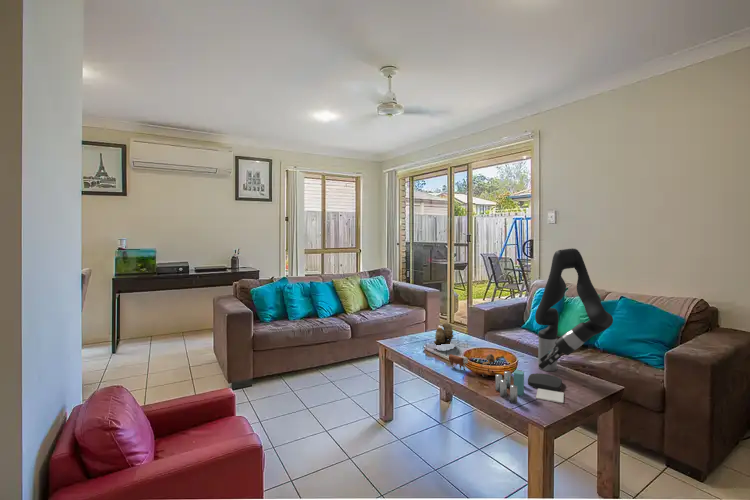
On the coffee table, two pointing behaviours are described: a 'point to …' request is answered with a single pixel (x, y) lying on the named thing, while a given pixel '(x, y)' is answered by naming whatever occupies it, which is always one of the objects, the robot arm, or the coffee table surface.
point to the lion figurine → (489, 360)
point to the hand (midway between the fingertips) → (540, 364)
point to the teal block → (519, 381)
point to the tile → (550, 395)
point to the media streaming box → (545, 382)
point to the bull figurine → (458, 360)
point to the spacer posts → (503, 384)
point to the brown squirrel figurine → (444, 334)
